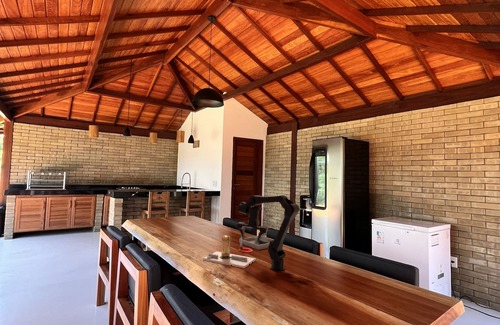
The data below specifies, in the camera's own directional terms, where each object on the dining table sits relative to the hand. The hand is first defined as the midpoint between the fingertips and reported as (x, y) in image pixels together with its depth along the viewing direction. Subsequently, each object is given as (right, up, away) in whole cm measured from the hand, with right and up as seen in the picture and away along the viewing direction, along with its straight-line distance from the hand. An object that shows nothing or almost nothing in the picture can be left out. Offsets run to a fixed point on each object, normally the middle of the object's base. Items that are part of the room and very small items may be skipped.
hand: (250, 241), depth 164 cm
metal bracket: (+8, -14, +42) cm, 45 cm away
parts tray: (+7, -14, +41) cm, 44 cm away
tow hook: (-3, -14, +22) cm, 26 cm away
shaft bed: (-13, -12, +1) cm, 18 cm away
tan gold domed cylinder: (-15, -11, +2) cm, 19 cm away
